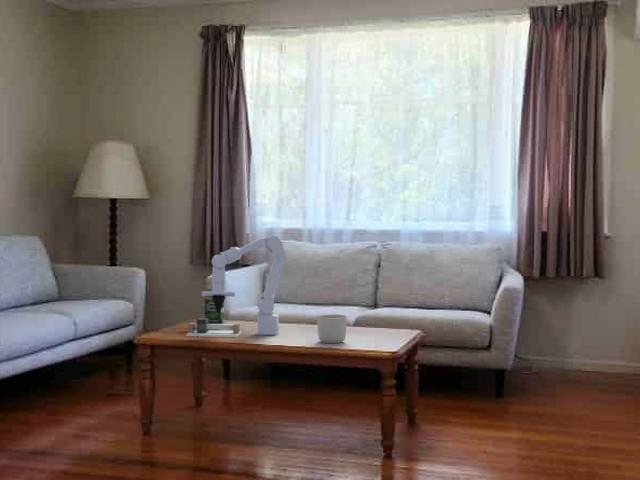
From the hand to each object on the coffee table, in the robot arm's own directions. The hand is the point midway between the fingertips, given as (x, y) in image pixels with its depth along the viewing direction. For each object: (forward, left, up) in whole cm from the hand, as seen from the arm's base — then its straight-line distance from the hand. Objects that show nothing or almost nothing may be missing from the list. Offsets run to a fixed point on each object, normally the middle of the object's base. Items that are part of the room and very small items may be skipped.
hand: (218, 312), depth 352 cm
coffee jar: (+6, -19, -10) cm, 22 cm away
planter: (-51, +13, -10) cm, 54 cm away
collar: (+7, 0, -9) cm, 11 cm away
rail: (+2, 0, -10) cm, 10 cm away
